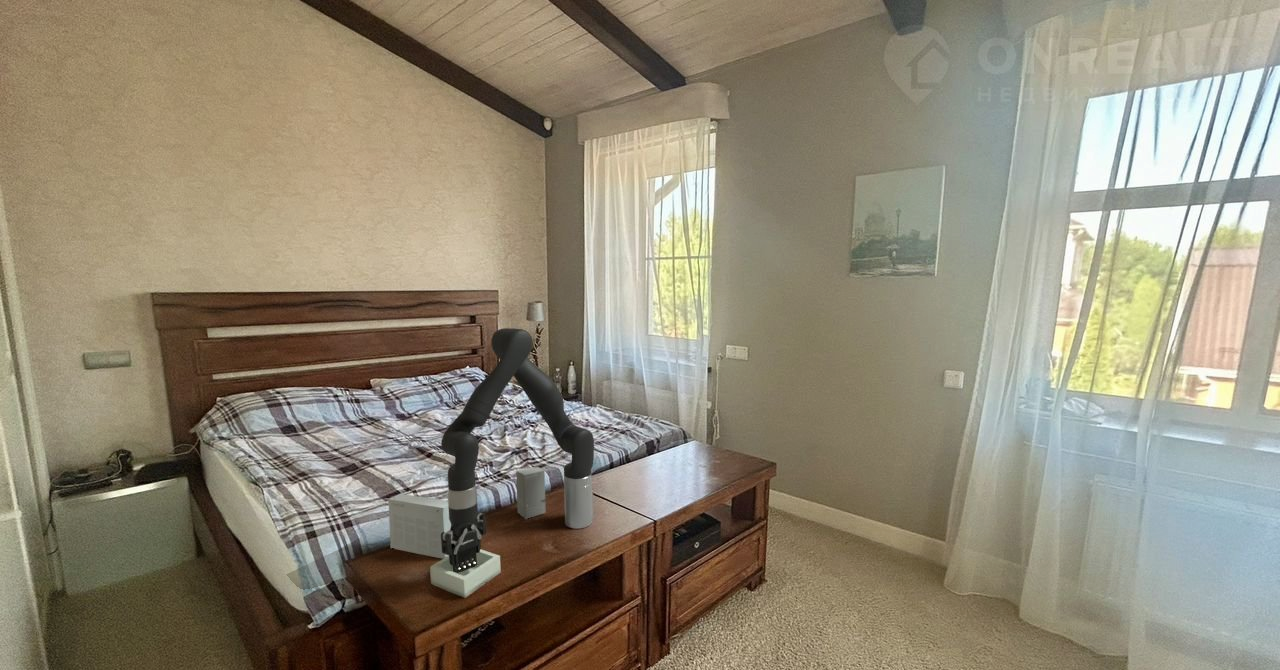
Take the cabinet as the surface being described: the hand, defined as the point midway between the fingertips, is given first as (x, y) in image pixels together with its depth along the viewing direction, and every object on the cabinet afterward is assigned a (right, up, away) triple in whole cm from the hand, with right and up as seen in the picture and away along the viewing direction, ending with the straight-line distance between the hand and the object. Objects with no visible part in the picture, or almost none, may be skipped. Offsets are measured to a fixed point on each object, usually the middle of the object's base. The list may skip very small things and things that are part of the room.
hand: (465, 558), depth 140 cm
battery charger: (0, -3, 0) cm, 3 cm away
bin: (0, -6, +1) cm, 6 cm away
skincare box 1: (-19, -4, +16) cm, 25 cm away
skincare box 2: (+10, -1, +39) cm, 41 cm away
